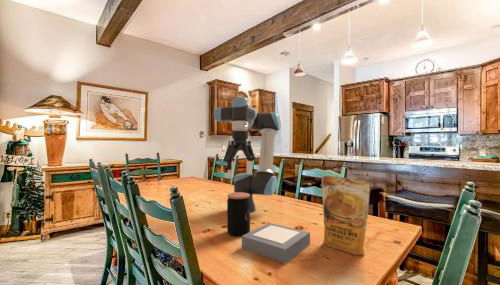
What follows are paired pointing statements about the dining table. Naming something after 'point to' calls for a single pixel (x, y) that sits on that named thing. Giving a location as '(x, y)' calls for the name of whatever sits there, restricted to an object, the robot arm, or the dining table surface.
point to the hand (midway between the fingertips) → (240, 175)
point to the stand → (276, 242)
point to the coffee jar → (238, 214)
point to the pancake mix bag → (345, 213)
